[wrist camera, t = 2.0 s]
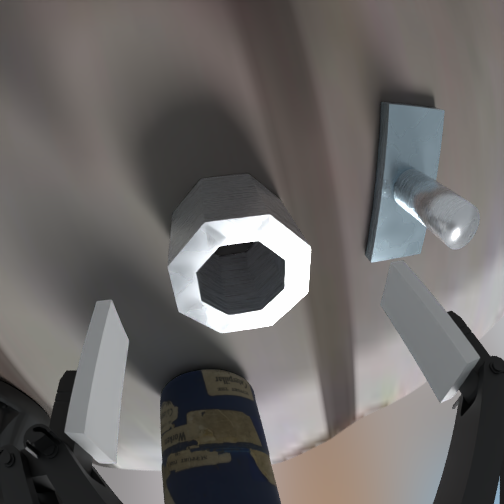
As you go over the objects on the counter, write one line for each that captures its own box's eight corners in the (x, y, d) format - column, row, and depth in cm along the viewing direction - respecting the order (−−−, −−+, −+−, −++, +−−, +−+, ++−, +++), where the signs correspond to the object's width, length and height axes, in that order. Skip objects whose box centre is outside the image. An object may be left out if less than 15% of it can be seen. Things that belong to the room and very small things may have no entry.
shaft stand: (365, 255, 24) (410, 313, 19) (381, 101, 18) (452, 124, 12) (414, 247, 25) (461, 297, 19) (435, 107, 19) (506, 132, 13)
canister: (171, 353, 27) (185, 559, 12) (268, 367, 30) (317, 543, 15) (153, 405, 31) (161, 562, 16) (233, 415, 34) (262, 557, 19)
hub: (184, 276, 23) (185, 337, 18) (167, 183, 19) (159, 228, 14) (280, 262, 23) (305, 319, 18) (280, 170, 20) (312, 209, 15)
